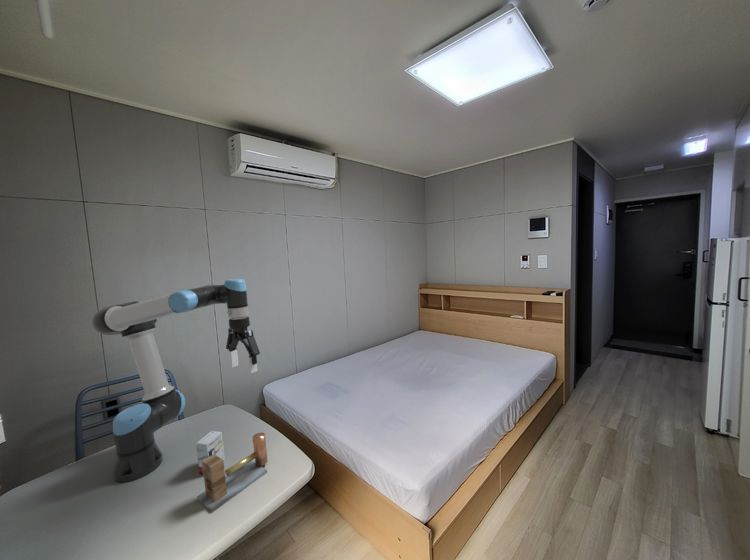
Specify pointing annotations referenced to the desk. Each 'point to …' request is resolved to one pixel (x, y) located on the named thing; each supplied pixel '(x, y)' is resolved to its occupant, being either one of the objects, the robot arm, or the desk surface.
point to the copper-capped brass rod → (253, 454)
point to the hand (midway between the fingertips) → (244, 369)
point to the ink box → (210, 447)
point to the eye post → (225, 481)
